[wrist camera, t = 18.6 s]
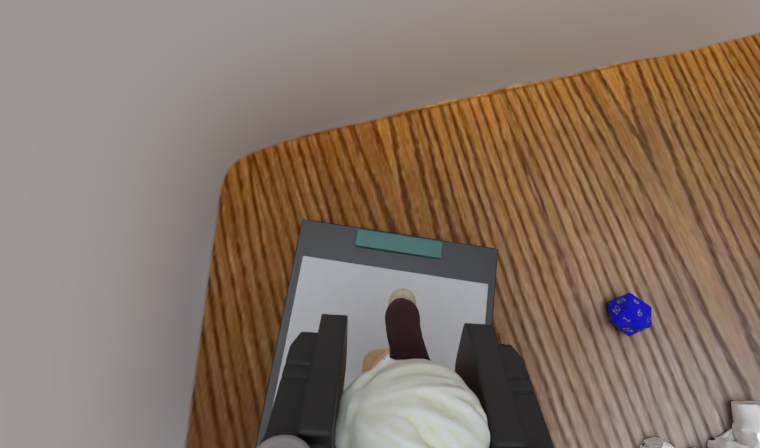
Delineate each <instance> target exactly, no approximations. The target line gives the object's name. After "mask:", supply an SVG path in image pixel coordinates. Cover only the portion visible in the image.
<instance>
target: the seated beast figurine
mask: <svg viewBox="0 0 760 448" xmlns="http://www.w3.org/2000/svg"><path fill="white" fill-rule="evenodd" d="M731 413H732V419H733V423H732V428H730V429H729V430H727V431H726V432H725V433H723V434H722V435H720V436H719V437H714V439H715V440H708V441H707V447H708V448H760V402H759V401H735V400H734V401H731ZM643 442H644V446H643V445H640V446H639V447H640V448H674V447H673V446H672V445H671V444H670V443H668V442H666V441H664V440H662V439H660V438H657V437H651V438H648V439H644V441H643ZM693 448H698V447H693Z"/></svg>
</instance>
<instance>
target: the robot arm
mask: <svg viewBox="0 0 760 448" xmlns="http://www.w3.org/2000/svg"><path fill="white" fill-rule="evenodd" d="M347 331H348V315H332V314H322V316H321V320H320V325H319V330H318V333H315V332H301V333H300V334H299V335H298V337H297V338H296V339H295V340H294V341H293V343H292V344H291V345H290V348H289V351H288V355H287V358H286V363H285V365H284V369H283V373H282V378H281V380H280V383H279V387H278V390H277V394H276V398H275V401H274V405H273V408H272V412H271V416H270V419H269V423H268V426H267V430H266V433H265V435H264V437H263V439H262V441H261V442H260V444H259V445H258V446H257V447H256V448H335V444H334V441H335V428H336V419H337V414H338V409H339V400H340V398H341V395H342V394H343V390H344V381H345V372H346V360H347ZM455 373H456V374H458V375H459V376H460V377H461V378H462V380H463V381H464V382H465V384H466V385H467V387H468V388H469V389H470V390H471V391H472V392H473V393H474V394H475V395H476V396H477V398H478V399H479V401H480V404H481V407H482V408H483V410H484V412H485V414H486V416H487V420H488V428H489V431H490V445H489V448H554V446H553V443H552V441H551V438H550V435H549V432H548V429H547V426H546V423H545V421H544V418H543V415H542V412H541V409H540V406H539V404H538V401H537V398H536V395H534V389H533V387H532V384H531V381H530V380H529V375H528V372H527V369H526V367H525V364H524V361H523V359H522V358H521V357H520V356H519V354H518V353H517V352H516V351H515V350H514V348H513V347H512V346H511V345H505V344H498V341H497V338H496V335H495V331H494V328H493V326H492V325H488V324H472V323H465V324H464V326H463V330H462V334H461V339H460V343H459V348H458V352H457V357H456V363H455Z"/></svg>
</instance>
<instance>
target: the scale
mask: <svg viewBox="0 0 760 448" xmlns="http://www.w3.org/2000/svg"><path fill="white" fill-rule="evenodd" d="M497 255H498V249H494V248H488V247H481V246H475V245H468V244H462V243H455V242H449V241H442V240H436V239H429V238H422V237H416V236H409V235H403V234H396V233H390V232H383V231H377V230H370V229H364V228H357V227H351V226H344V225H338V224H331V223H324V222H318V221H311V220H305V219H303V220H302V224H301V229H300V233H299V238H298V243H297V248H296V253H295V258H294V263H293V267H292V272H291V277H290V282H289V287H288V292H287V297H286V301H285V306H284V311H283V316H282V321H281V326H280V331H279V335H278V340H277V345H276V350H275V355H274V360H273V365H272V369H271V374H270V379H269V384H268V389H267V394H266V398H265V403H264V408H263V413H262V418H261V423H260V428H259V432H258V437H257V442H256V447H257V446H258V445H259V444H260V442H261V441H262V439H263V437H264V435H265V433H266V430H267V426H268V423H269V419H270V416H271V412H272V408H273V405H274V401H275V398H276V394H277V390H278V387H279V383H280V380H281V378H282V373H283V369H284V365H285V363H286V358H287V355H288V351H289V348H290V345H291V344H292V343H293V341H294V340H295V339H296V338H297V337H298V335H299V334H300V333H301V332H315V333H318V330H319V325H320V320H321V316H322V314H332V315H348V331H347V360H346V372H345V381H344V390H345V389H346V388H347V387H348V386H349V385H350V384H351V383H352V382H353V381H354V380H355V379H356V378H357V377H358V376H359V375H360V374H362V365H363V360H364V357H365V356H366V354H367V353H369V352H370V351H373V350H378V349H385V348H390V347H389V343H388V339H387V333H386V325H385V313H386V310H387V308H388V306H389V305H388V301H389V297H390V295H391V294H392V293H393V291H395V290H397V289H401V288H404V289H408V290H410V291H411V292H412V293H413V294H414V296H415V299H416V307H417V308H418V310H419V314H420V327H421V331H422V337H423V340H424V343H425V346H426V349H427V352H428V355H429V358H430V360H431V361H435V362H439V363H441V364H444V365H446V366H448V367H449V368H450V369H452V370H453V371H454V372H455V363H456V357H457V352H458V348H459V343H460V339H461V334H462V330H463V326H464V324H465V323H472V324H488V325H492V319H493V307H494V294H495V281H496V268H497ZM344 390H343V392H344ZM256 447H255V448H256Z"/></svg>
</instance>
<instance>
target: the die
mask: <svg viewBox="0 0 760 448" xmlns="http://www.w3.org/2000/svg"><path fill="white" fill-rule="evenodd" d="M608 312H609V321H610V322H611V323H612V324H613V325H615V326H616V327H617V328H619V329H620V330H621V331H623V332H624V333H625V334H627V335H628V336H631V335H633V334H635V333H638V332H640V331H642V330H644V329H646V328H649V327H651V307H650V306H649V305H647V304H646V303H644V302H643V301H641V300H640V299H638V298H637V297H635V296H634V295H633V294H631V293H628V294H626V295H623V296H621V297H619V298H617V299H615V300H613V301H611V302H609V303H608Z"/></svg>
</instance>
